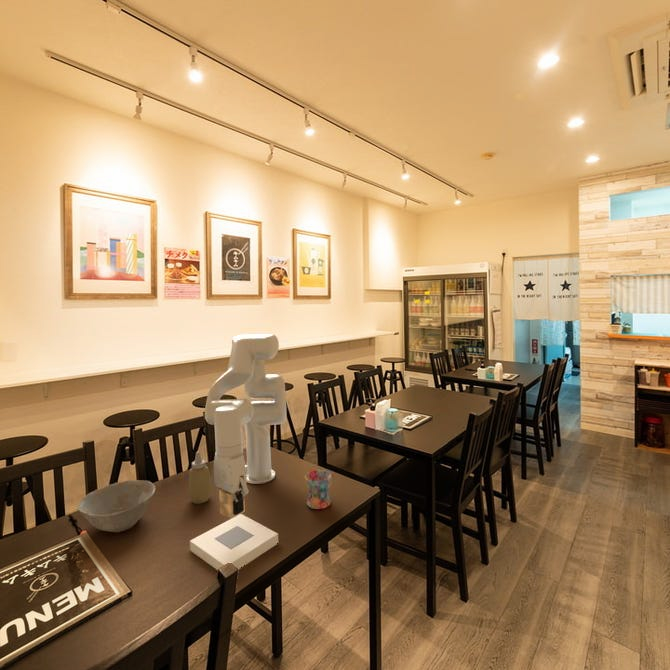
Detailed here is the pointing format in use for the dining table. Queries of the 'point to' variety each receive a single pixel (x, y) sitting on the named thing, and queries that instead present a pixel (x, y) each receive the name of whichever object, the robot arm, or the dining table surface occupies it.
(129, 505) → the ceramic bowl
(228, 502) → the maple block
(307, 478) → the mug
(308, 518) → the dining table surface
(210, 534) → the base board
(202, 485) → the squeeze bottle
